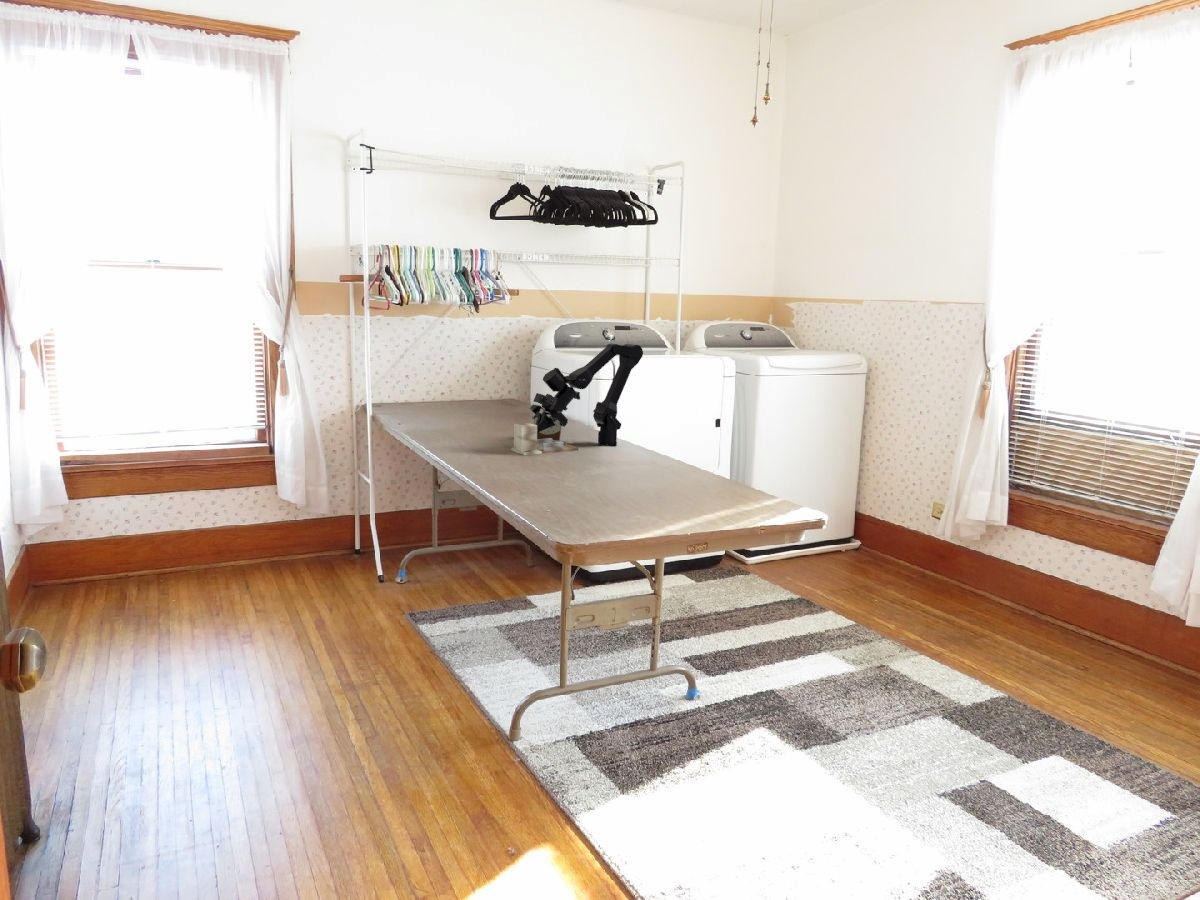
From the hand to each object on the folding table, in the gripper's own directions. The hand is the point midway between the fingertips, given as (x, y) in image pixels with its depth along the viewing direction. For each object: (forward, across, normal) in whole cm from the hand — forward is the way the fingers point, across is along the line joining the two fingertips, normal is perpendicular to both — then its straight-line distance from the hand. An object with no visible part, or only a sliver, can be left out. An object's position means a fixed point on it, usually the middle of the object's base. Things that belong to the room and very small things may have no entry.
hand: (533, 432), depth 307 cm
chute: (+1, 0, +8) cm, 8 cm away
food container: (-7, -19, +17) cm, 26 cm away
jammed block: (+6, 0, +2) cm, 7 cm away
